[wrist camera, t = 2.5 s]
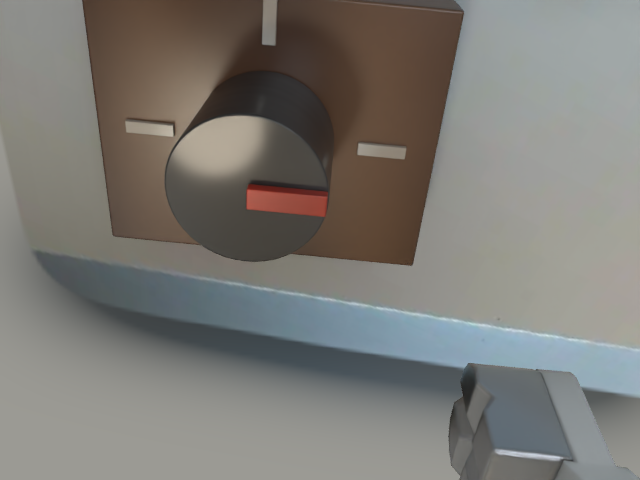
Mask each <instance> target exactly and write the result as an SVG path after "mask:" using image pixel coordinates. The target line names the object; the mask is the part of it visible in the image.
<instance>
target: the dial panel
mask: <svg viewBox="0 0 640 480" xmlns="http://www.w3.org/2000/svg"><path fill="white" fill-rule="evenodd" d="M82 2H83V10H84V17H85V25H86V33H87V40H88V48H89V56H90V64H91V71H92V79H93V87H94V94H95V102H96V110H97V118H98V125H99V133H100V141H101V148H102V156H103V164H104V172H105V179H106V187H107V195H108V202H109V210H110V218H111V226H112V233H113V236H115V237H125V238H135V239H145V240H156V241H166V242H176V243H186V244H196V245H200V244H199V243H198V242H196V241H195V240H194V239H193V238H192V237H190V236H189V234H188V233H187V232H186V231H185V230H184V229H183V228H182V227H181V225H180V224H179V223H178V221H177V220H176V218H175V216H174V215H173V213H172V211H171V208H170V206H169V203H168V200H167V196H166V191H165V169H166V164H167V161H168V157H169V155H170V153H171V151H172V149H173V147H174V145H175V144H176V143H177V141H178V140H179V138H180V137H181V135H182V134H183V133H184V131H185V130H186V128H187V127H188V125H189V124H190V123H191V121H192V120H193V118H194V117H195V116H196V114H197V113H198V111H199V110H200V108H201V107H202V106H203V104H204V103H205V101H206V100H207V98H208V97H209V96H210V94H211V93H212V92H213V91H214V90H215V89H216V88H217V87H218V86H219V85H220V84H222V83H223V82H224V81H226V80H228V79H230V78H231V77H234V76H236V75H239V74H242V73H246V72H252V71H270V72H276V73H280V74H283V75H287V76H289V77H291V78H293V79H296V80H297V81H299V82H301V83H302V84H304V85H305V86H306V87H308V88H309V89H310V90H311V91H312V92H313V93H314V94H315V95H316V96H317V97H318V98H319V99H320V101H321V102H322V103H323V105H324V107H325V108H326V110H327V112H328V114H329V117H330V119H331V123H332V127H333V132H334V150H333V162H332V173H331V185H330V196H329V204H328V210H327V213H326V216H325V219H324V221H323V223H322V225H321V227H320V228H319V230H318V231H317V233H316V234H315V235H314V236H313V237H312V238H311V239H310V240H309V242H307V243H306V244H305V245H304V246H302V247H301V248H299V249H298V250H296V251H295V252H293V253H291V254H298V255H308V256H318V257H328V258H339V259H349V260H359V261H369V262H379V263H390V264H400V265H410V266H411V265H412V264H413V262H414V257H415V252H416V247H417V242H418V237H419V232H420V227H421V222H422V217H423V212H424V207H425V203H426V198H427V193H428V188H429V183H430V178H431V173H432V168H433V163H434V158H435V153H436V148H437V144H438V139H439V134H440V129H441V124H442V119H443V114H444V109H445V104H446V99H447V94H448V89H449V85H450V80H451V75H452V70H453V65H454V60H455V55H456V50H457V45H458V40H459V35H460V30H461V26H462V21H463V16H464V11H463V10H462V9H461V8H460V6H459V5H458V4H457V3H456V2H455V1H454V0H82Z"/></svg>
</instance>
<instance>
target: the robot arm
mask: <svg viewBox="0 0 640 480" xmlns="http://www.w3.org/2000/svg"><path fill="white" fill-rule="evenodd" d="M461 388H462V393H463V397H462V398H460V399H459V400H457V401H456V402H454V405H453V409H452V413H451V417H450V425H449V436H448V437H449V453H450V460H451V466H452V467H453V468H454V469H455V470H456V471H457V473H458V474H459V475H460V480H640V479H639V478H638V477H637V476H636V475H635V474H634V473H633V472H631V471H630V470H629V469H628V468H625V467H618V466H616V465H615V463H614V461H613V458H612V456H611V454H610V452H609V449H608V447H607V445H606V443H605V440H604V438H603V436H602V434H601V431H600V429H599V427H598V425H597V423H596V420H595V418H594V416H593V414H592V412H591V409H590V407H589V405H588V402H587V400H586V398H585V396H584V393H583V391H582V389H581V387H580V384H579V382H578V380H577V378H576V377H575V376H574V375H573V374H572V373H571V372H563V371H552V370H540V369H536V370H533V369H526V368H515V367H505V366H495V365H484V364H474V363H468V364H467V366H466V367H465V369H464V372H463V375H462V378H461Z"/></svg>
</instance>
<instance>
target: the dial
mask: <svg viewBox="0 0 640 480" xmlns="http://www.w3.org/2000/svg"><path fill="white" fill-rule="evenodd" d="M333 150H334V132H333V127H332V123H331V119H330V117H329V114H328V112H327V110H326V108H325V107H324V105H323V103H322V102H321V101H320V99H319V98H318V97H317V96H316V95H315V94H314V93H313V92H312V91H311V90H310V89H309V88H308V87H306V86H305V85H304V84H302V83H301V82H299V81H297V80H296V79H293V78H291V77H289V76H287V75H283V74H280V73H276V72H270V71H252V72H246V73H242V74H239V75H236V76H234V77H231V78H230V79H228V80H226V81H224V82H223V83H222V84H220V85H219V86H218V87H217V88H216V89H215V90H214V91H213V92H212V93H211V94H210V96H209V97H208V98H207V100H206V101H205V103H204V104H203V106H202V107H201V108H200V110H199V111H198V113H197V114H196V116H195V117H194V118H193V120H192V121H191V123H190V124H189V125H188V127H187V128H186V130H185V131H184V133H183V134H182V135H181V137H180V138H179V140H178V141H177V143H176V144H175V145H174V147H173V149H172V151H171V153H170V155H169V157H168V161H167V164H166V169H165V191H166V196H167V200H168V203H169V206H170V208H171V211H172V213H173V215H174V216H175V218H176V220H177V221H178V223H179V224H180V225H181V227H182V228H183V229H184V230H185V231H186V232H187V233H188V234H189V236H190V237H192V238H193V239H194V240H195V241H196V242H198V243H199V244H200V245H202V246H204V247H205V248H207V249H208V250H210V251H212V252H214V253H216V254H219V255H222V256H224V257H227V258H231V259H235V260H241V261H252V262H258V261H268V260H274V259H277V258H281V257H284V256H286V255H288V254H291V253H293V252H295V251H296V250H298V249H299V248H301V247H302V246H304V245H305V244H306V243H307V242H309V240H310V239H311V238H312V237H313V236H314V235H315V234H316V233H317V231H318V230H319V228H320V227H321V225H322V223H323V221H324V219H325V216H326V213H327V210H328V204H329V196H330V185H331V173H332V162H333Z"/></svg>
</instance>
